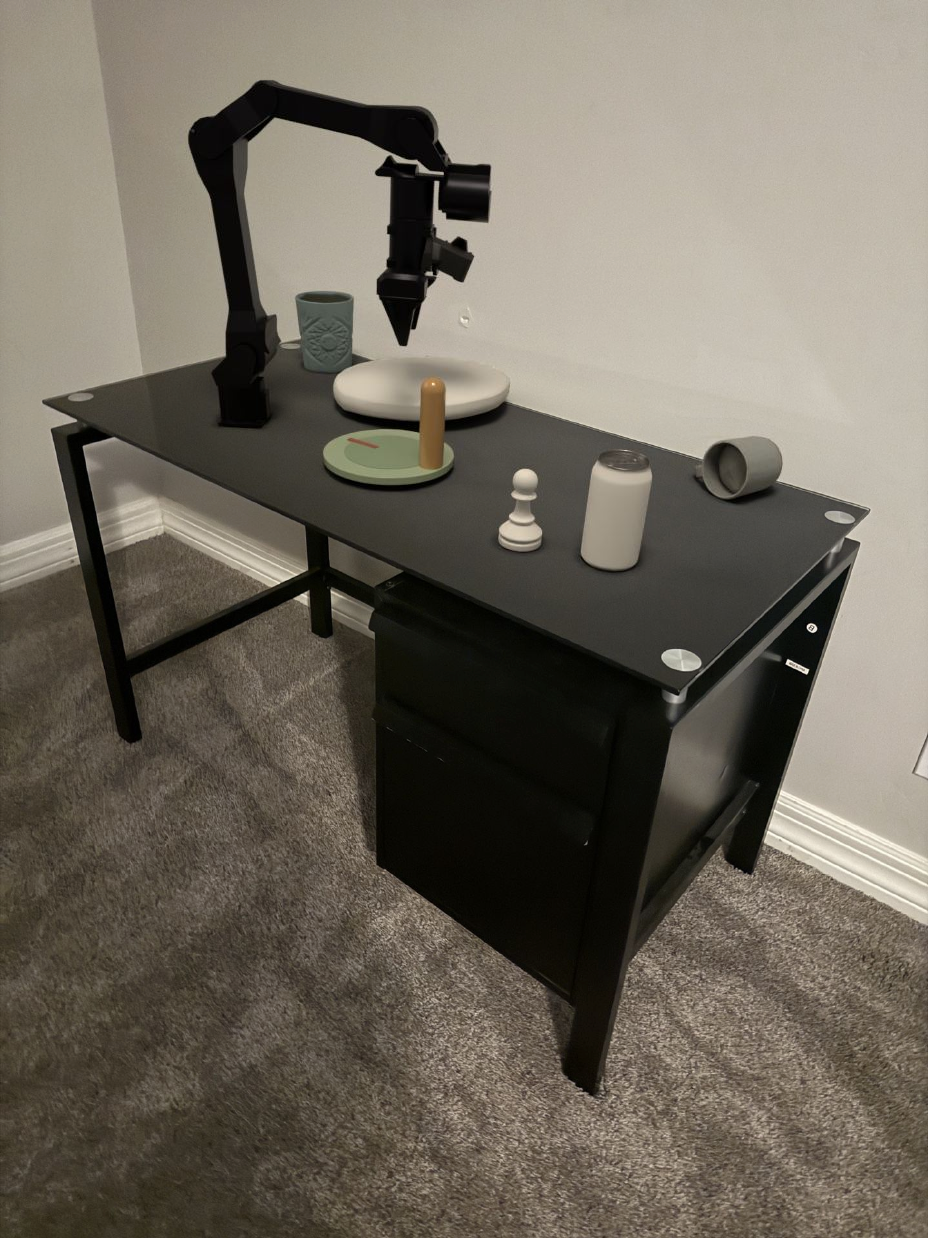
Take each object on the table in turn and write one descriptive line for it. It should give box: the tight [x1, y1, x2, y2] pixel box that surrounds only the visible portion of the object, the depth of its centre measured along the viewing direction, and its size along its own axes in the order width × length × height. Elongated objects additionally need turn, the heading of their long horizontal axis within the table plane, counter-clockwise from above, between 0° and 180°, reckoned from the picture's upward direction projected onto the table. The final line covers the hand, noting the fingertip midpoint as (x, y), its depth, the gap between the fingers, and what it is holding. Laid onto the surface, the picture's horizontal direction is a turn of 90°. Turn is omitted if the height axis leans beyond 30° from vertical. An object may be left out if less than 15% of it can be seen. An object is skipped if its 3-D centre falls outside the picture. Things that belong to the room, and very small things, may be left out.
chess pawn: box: [497, 468, 543, 553], centre depth 99 cm, size 5×5×9 cm
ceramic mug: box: [694, 435, 784, 500], centre depth 116 cm, size 11×8×8 cm
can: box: [580, 449, 653, 572], centre depth 96 cm, size 6×6×12 cm
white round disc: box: [332, 355, 511, 422], centre depth 139 cm, size 28×6×27 cm
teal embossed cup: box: [294, 290, 355, 374], centre depth 153 cm, size 10×10×12 cm
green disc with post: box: [322, 377, 455, 486], centre depth 115 cm, size 18×18×13 cm
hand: (407, 337), depth 123 cm, fingers open, 9 cm apart
